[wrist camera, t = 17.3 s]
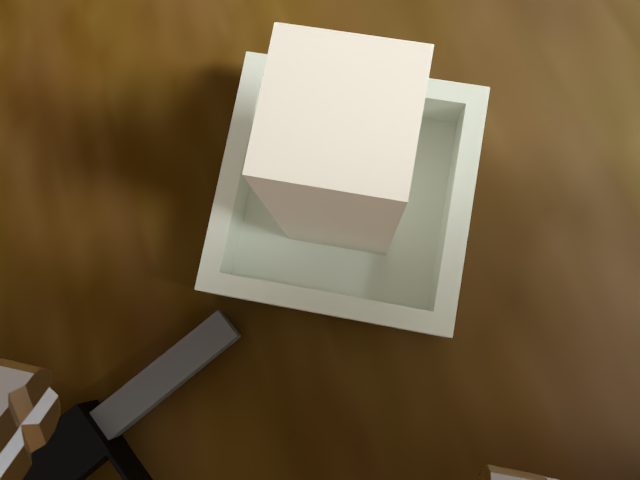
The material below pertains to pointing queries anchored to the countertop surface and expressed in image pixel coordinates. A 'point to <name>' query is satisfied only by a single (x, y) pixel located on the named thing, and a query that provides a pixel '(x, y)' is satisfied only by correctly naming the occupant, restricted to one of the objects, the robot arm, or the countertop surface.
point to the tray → (345, 264)
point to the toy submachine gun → (126, 410)
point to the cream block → (337, 134)
